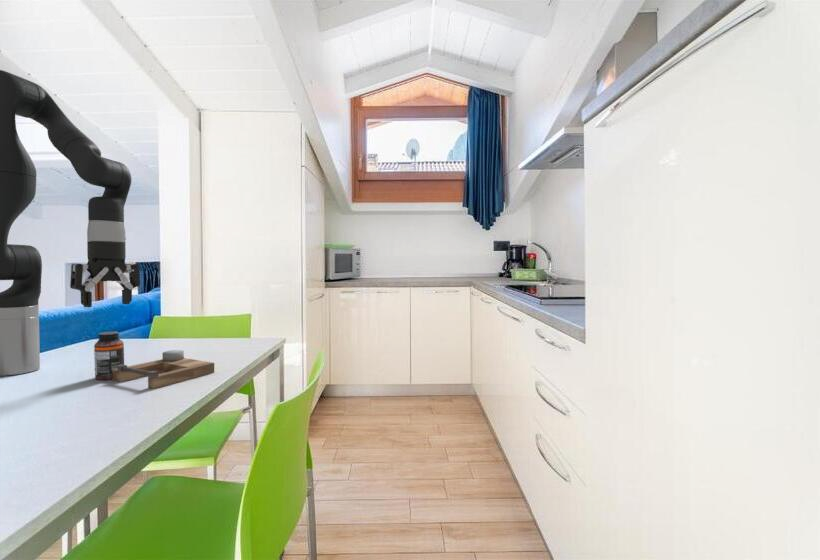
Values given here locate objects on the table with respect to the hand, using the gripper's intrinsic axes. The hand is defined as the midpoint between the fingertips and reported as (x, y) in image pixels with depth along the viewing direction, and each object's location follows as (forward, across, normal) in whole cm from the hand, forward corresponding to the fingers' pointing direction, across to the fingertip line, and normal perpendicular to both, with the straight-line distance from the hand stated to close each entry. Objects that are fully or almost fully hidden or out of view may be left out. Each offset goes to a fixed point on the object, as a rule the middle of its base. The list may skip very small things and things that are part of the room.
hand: (107, 305), depth 99 cm
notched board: (+18, -8, +11) cm, 22 cm away
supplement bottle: (+18, 0, 0) cm, 18 cm away
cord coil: (+15, -13, +6) cm, 21 cm away
